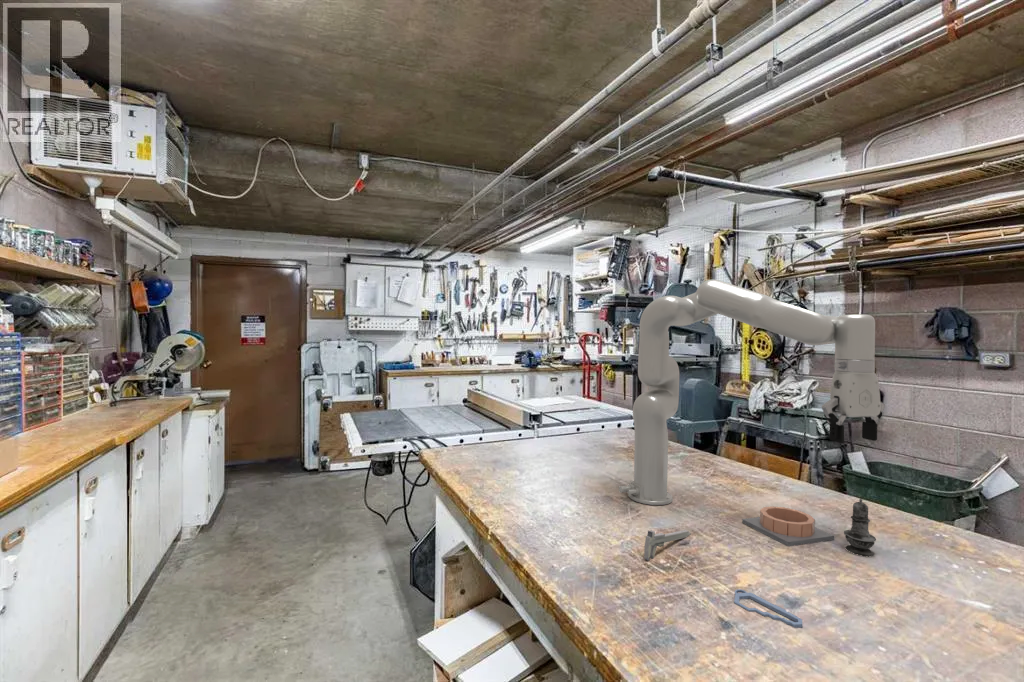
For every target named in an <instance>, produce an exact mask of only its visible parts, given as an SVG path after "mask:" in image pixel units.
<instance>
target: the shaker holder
mask: <svg viewBox="0 0 1024 682" xmlns="http://www.w3.org/2000/svg"><path fill="white" fill-rule="evenodd" d="M741 521H742V522H741V523H742V524H744V525H746V526H748V527H749V526H750V528H751V527H752V529H753V528H754V530H755V531H758V532H760V533H761V534H763V535H765V536H767V537H769V538H771V539H773V540H775V541H777V542H779V543H781V544H783V545H785V546H787V547H794V545H795V546H801V544H802V545H807V544H808V543H809V544H814V543H815V542H816V543H821V541H823V542H829V540H830V541H835V535H834V534H831V533H830V532H828V531H825V530H823V529H820V528H818V527H816V523H815V522H816V520H815V518H814V517H813V516H811V514H808V513H806V512H803V511H801V510H797V509H793V508H790V507H784V506H773V505H772V506H763V507H762V508H761V509H760V510H759V516H756V517H748V518H747V517H746V518H742V519H741ZM816 543H815V544H816ZM809 544H808V545H809Z"/></svg>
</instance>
